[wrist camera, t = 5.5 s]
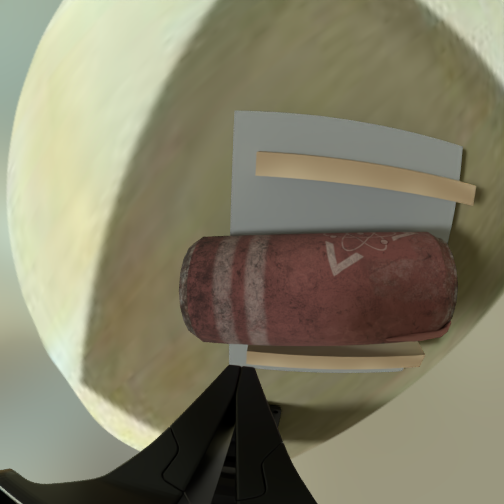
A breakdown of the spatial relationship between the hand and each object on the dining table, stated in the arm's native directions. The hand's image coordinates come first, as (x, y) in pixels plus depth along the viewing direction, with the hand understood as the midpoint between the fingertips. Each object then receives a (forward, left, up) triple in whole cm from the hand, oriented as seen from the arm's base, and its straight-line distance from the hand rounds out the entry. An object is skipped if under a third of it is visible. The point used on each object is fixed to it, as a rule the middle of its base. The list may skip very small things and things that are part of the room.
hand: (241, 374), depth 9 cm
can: (-1, +4, -7) cm, 8 cm away
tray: (0, -5, -10) cm, 12 cm away
